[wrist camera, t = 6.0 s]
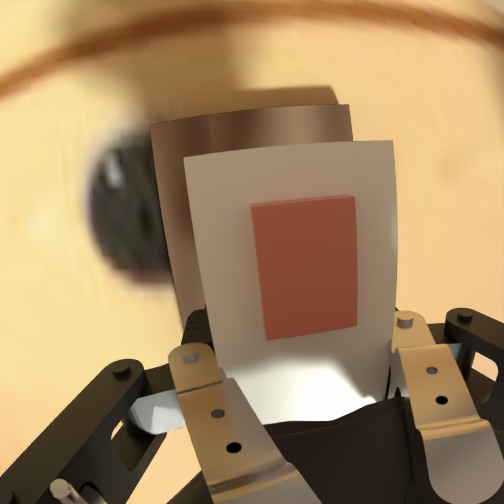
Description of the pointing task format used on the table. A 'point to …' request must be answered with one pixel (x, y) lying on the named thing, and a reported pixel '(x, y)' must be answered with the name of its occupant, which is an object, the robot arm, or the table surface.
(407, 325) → the robot arm
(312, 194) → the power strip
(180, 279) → the brown wooden slotted board
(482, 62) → the table surface
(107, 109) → the table surface
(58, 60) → the table surface
